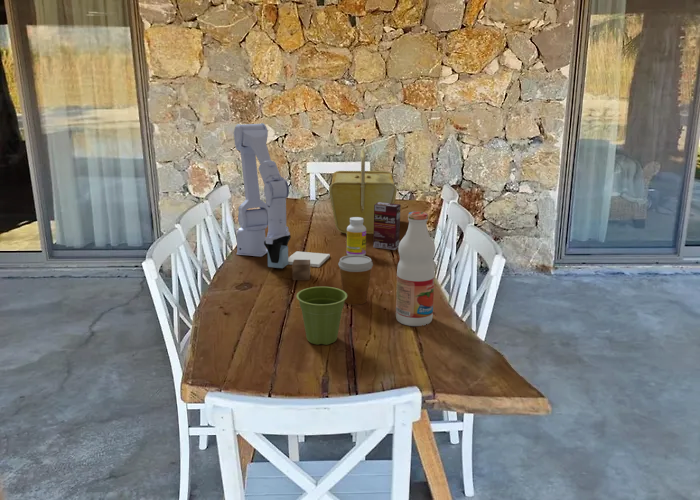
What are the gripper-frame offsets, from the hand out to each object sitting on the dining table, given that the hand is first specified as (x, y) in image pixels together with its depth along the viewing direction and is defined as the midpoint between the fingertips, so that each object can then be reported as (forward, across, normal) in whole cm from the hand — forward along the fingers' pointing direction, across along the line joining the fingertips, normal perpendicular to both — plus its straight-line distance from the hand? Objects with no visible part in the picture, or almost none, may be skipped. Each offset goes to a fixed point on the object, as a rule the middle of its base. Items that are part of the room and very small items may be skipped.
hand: (278, 260), depth 201 cm
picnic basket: (+3, +62, -12) cm, 63 cm away
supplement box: (+3, +34, -28) cm, 44 cm away
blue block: (+2, 0, 0) cm, 2 cm away
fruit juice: (+3, -30, -49) cm, 58 cm away
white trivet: (+3, +11, -6) cm, 13 cm away
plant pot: (+3, -48, -30) cm, 57 cm away
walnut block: (+3, -6, -10) cm, 12 cm away
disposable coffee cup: (+3, -21, -31) cm, 38 cm away
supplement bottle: (+3, +22, -20) cm, 30 cm away
